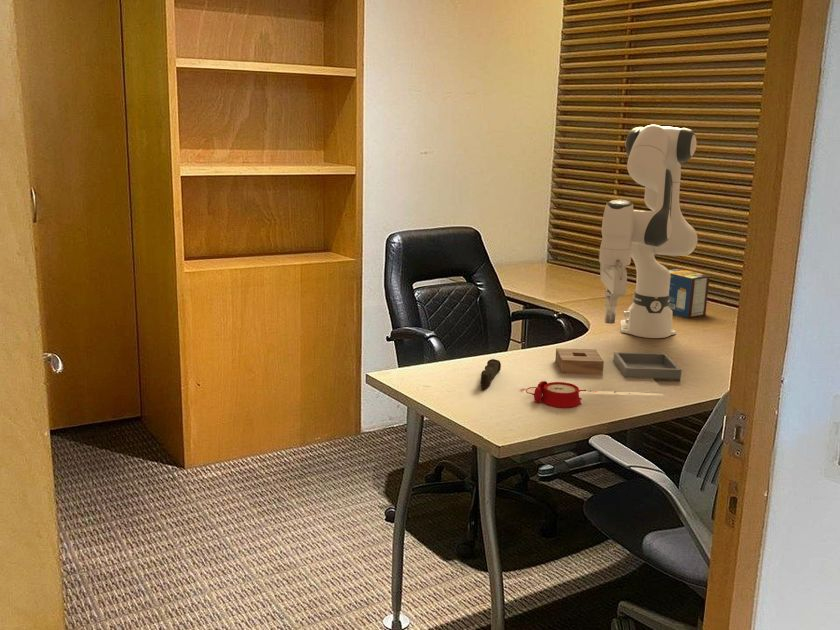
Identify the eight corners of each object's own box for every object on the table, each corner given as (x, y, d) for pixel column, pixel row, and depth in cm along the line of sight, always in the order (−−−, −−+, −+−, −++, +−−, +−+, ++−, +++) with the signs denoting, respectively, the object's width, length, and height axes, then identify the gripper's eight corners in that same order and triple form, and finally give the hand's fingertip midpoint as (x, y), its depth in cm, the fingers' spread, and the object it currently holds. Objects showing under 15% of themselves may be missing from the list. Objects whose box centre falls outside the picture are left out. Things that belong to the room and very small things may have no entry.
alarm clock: (582, 398, 211) (527, 378, 215) (575, 420, 213) (520, 400, 217) (588, 386, 220) (535, 367, 224) (581, 406, 222) (529, 387, 226)
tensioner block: (555, 363, 251) (556, 348, 250) (594, 364, 251) (595, 349, 250) (561, 375, 239) (562, 360, 238) (602, 377, 239) (603, 361, 238)
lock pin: (600, 320, 244) (603, 290, 242) (615, 320, 244) (618, 290, 241) (603, 324, 240) (605, 294, 237) (618, 324, 240) (621, 294, 237)
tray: (612, 362, 253) (613, 352, 252) (665, 364, 253) (666, 353, 252) (624, 379, 237) (625, 368, 236) (680, 381, 237) (681, 369, 236)
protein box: (674, 306, 328) (678, 268, 324) (706, 315, 316) (710, 275, 312) (656, 309, 323) (660, 270, 319) (687, 318, 310) (692, 277, 306)
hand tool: (487, 370, 243) (488, 355, 242) (500, 372, 242) (501, 357, 241) (472, 391, 225) (473, 375, 224) (486, 392, 224) (487, 376, 223)
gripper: (634, 264, 227) (629, 313, 230) (619, 251, 246) (615, 295, 250) (611, 264, 227) (607, 312, 230) (597, 250, 246) (594, 295, 250)
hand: (611, 303), depth 240 cm, fingers closed on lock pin, 3 cm apart
